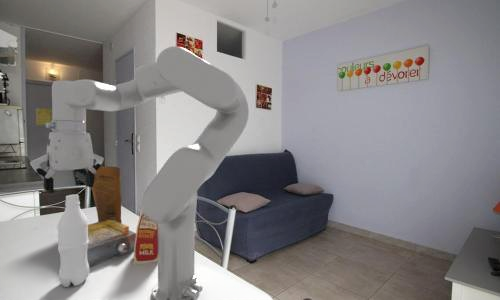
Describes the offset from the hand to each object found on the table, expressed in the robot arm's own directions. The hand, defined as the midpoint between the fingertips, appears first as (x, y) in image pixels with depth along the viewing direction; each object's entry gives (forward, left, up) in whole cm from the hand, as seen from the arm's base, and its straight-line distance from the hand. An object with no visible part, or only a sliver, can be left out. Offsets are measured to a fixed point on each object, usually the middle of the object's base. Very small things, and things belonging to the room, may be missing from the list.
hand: (70, 189), depth 73 cm
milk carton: (-3, -22, -27) cm, 35 cm away
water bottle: (0, 0, -27) cm, 27 cm away
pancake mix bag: (+33, -25, -27) cm, 49 cm away
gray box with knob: (+11, -13, -27) cm, 32 cm away
